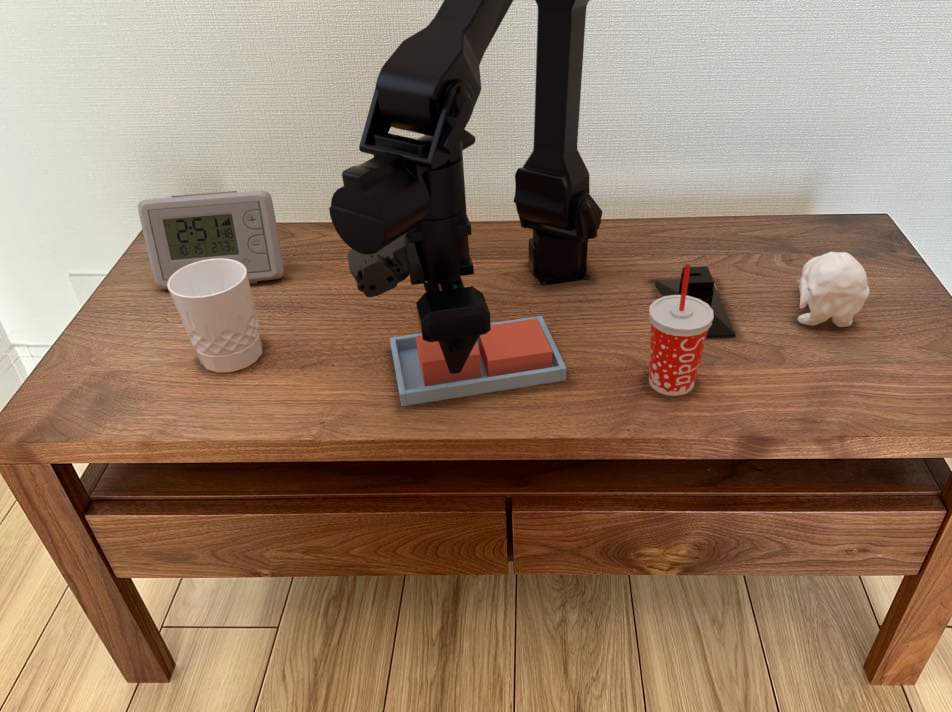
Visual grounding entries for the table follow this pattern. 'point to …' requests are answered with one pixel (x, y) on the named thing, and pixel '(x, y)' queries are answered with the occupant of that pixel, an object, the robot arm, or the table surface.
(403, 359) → the tray
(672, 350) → the beverage cup
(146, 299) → the table surface
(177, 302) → the white cup
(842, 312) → the white lumpy figurine
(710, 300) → the black stand
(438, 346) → the loose pad
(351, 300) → the table surface
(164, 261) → the digital clock
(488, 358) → the pad
